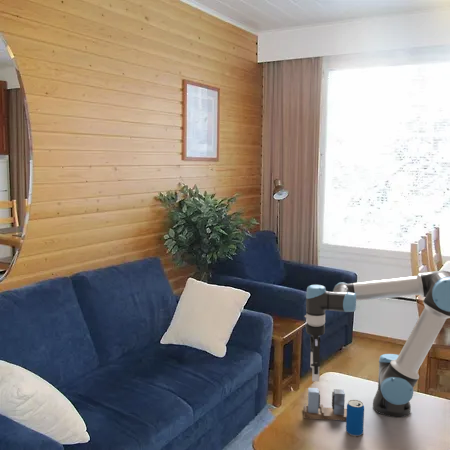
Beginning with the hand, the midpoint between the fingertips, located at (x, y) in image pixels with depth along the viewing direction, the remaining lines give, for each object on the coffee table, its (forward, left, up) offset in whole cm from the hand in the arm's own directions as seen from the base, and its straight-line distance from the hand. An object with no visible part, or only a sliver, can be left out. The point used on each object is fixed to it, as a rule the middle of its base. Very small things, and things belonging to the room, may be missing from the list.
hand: (314, 374), depth 208 cm
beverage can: (-15, +12, -18) cm, 26 cm away
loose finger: (0, 0, -16) cm, 16 cm away
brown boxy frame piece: (-5, 0, -18) cm, 18 cm away
